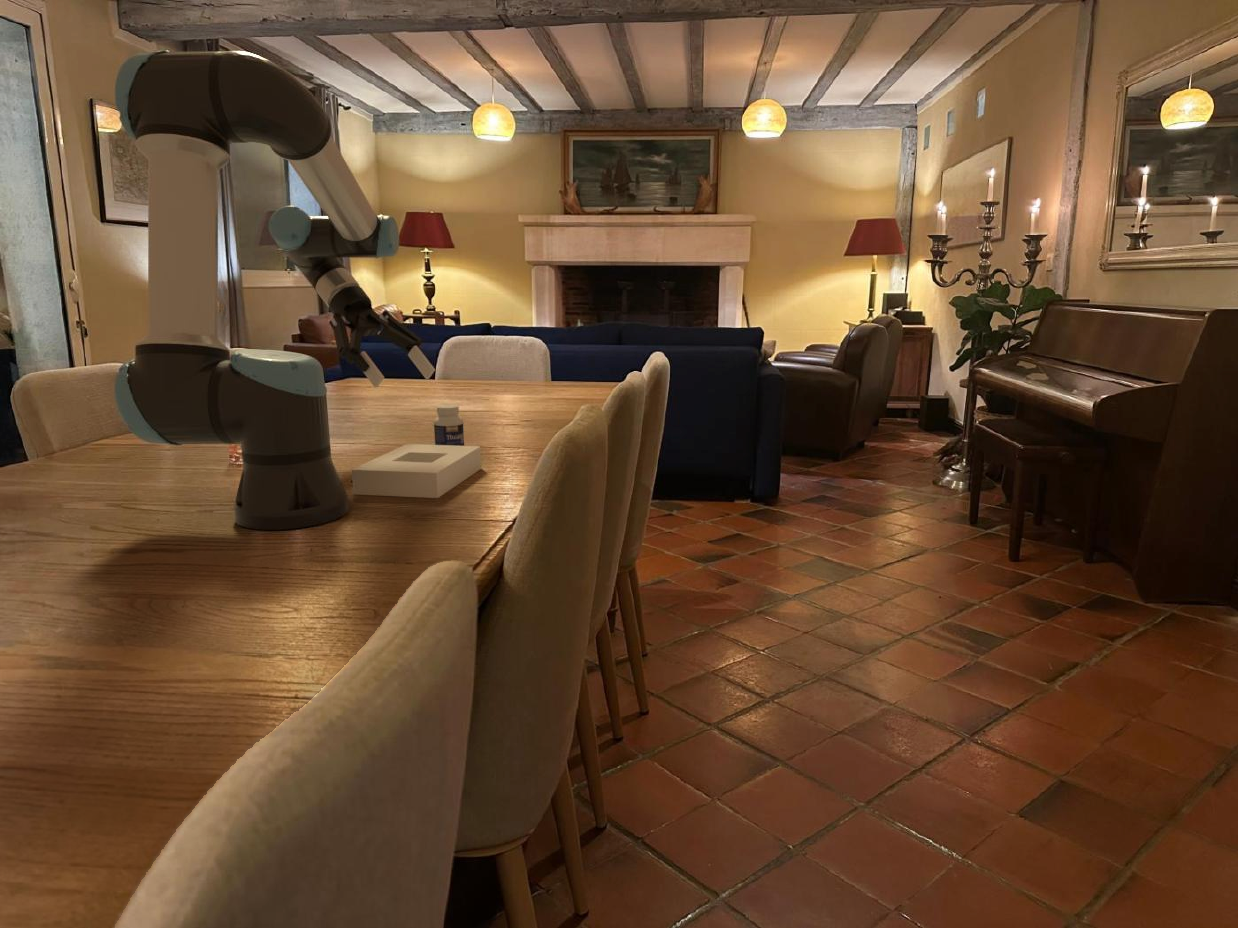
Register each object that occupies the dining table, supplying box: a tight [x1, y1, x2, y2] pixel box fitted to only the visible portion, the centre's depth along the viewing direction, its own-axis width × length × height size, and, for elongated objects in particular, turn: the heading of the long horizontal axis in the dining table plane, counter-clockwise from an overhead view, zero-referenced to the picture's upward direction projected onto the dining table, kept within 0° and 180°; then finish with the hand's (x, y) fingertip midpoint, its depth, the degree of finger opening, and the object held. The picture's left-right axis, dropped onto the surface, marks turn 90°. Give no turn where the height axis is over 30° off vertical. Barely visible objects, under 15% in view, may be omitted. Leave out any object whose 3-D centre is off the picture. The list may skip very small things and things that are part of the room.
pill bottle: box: [433, 404, 465, 446], centre depth 152 cm, size 5×5×10 cm
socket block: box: [351, 443, 483, 499], centre depth 136 cm, size 14×20×4 cm
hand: (406, 378), depth 156 cm, fingers open, 13 cm apart
